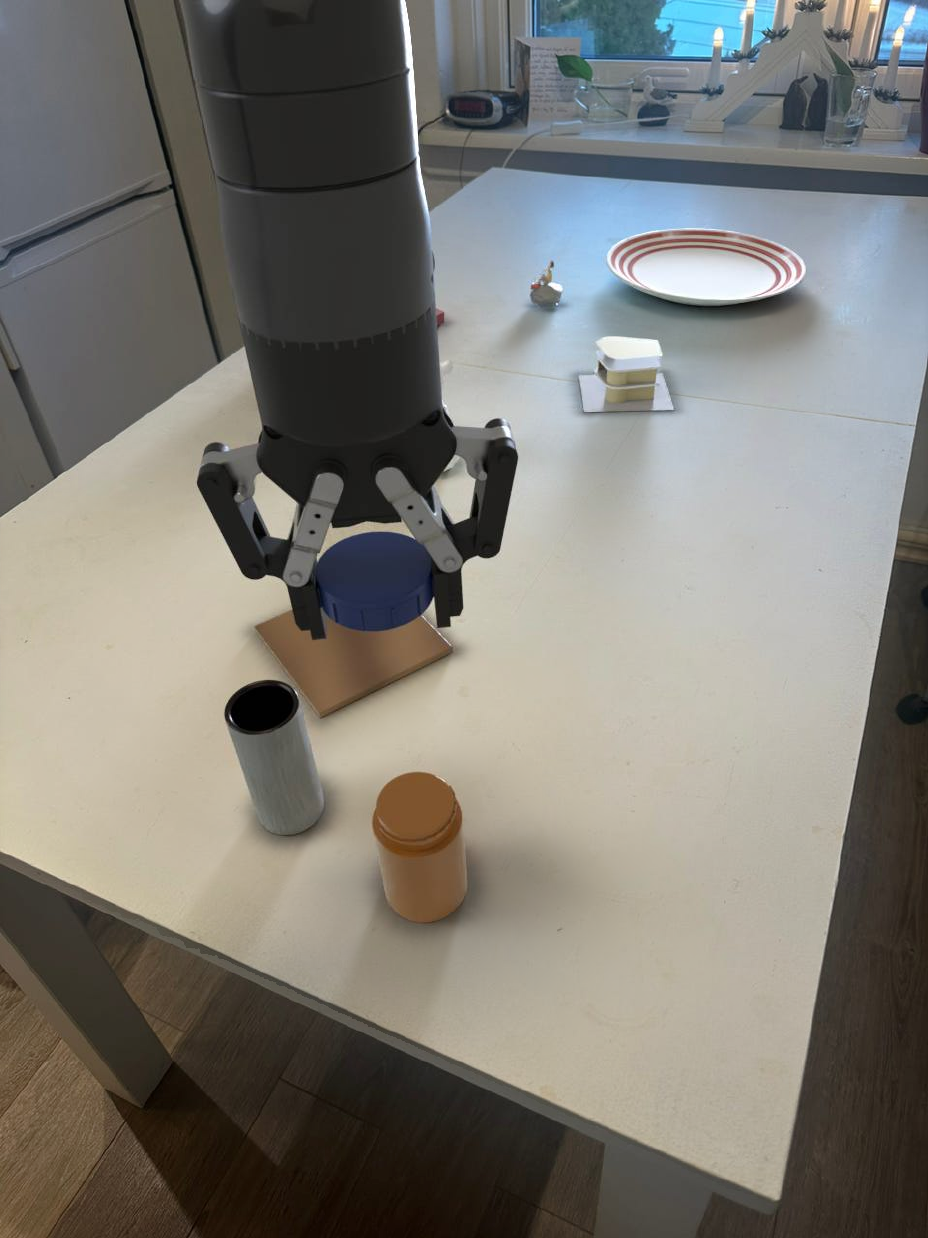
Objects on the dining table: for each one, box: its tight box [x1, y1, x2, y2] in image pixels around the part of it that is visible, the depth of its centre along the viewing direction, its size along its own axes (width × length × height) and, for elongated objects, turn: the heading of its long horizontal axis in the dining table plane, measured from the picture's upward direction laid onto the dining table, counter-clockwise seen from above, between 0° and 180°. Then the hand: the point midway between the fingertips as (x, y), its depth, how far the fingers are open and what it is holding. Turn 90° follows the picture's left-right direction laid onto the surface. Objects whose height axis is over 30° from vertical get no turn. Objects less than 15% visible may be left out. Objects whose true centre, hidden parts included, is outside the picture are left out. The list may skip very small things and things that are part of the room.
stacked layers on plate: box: [578, 335, 675, 413], centre depth 99 cm, size 10×9×6 cm
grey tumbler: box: [223, 679, 325, 836], centre depth 56 cm, size 4×4×10 cm
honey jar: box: [371, 771, 468, 923], centre depth 52 cm, size 5×5×8 cm
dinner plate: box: [605, 228, 807, 307], centre depth 123 cm, size 27×27×3 cm
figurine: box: [529, 259, 563, 309], centre depth 119 cm, size 5×4×6 cm
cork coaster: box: [253, 609, 454, 718], centre depth 71 cm, size 12×12×1 cm
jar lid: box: [316, 530, 435, 632], centre depth 42 cm, size 6×6×2 cm
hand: (382, 621), depth 44 cm, fingers closed on jar lid, 5 cm apart
